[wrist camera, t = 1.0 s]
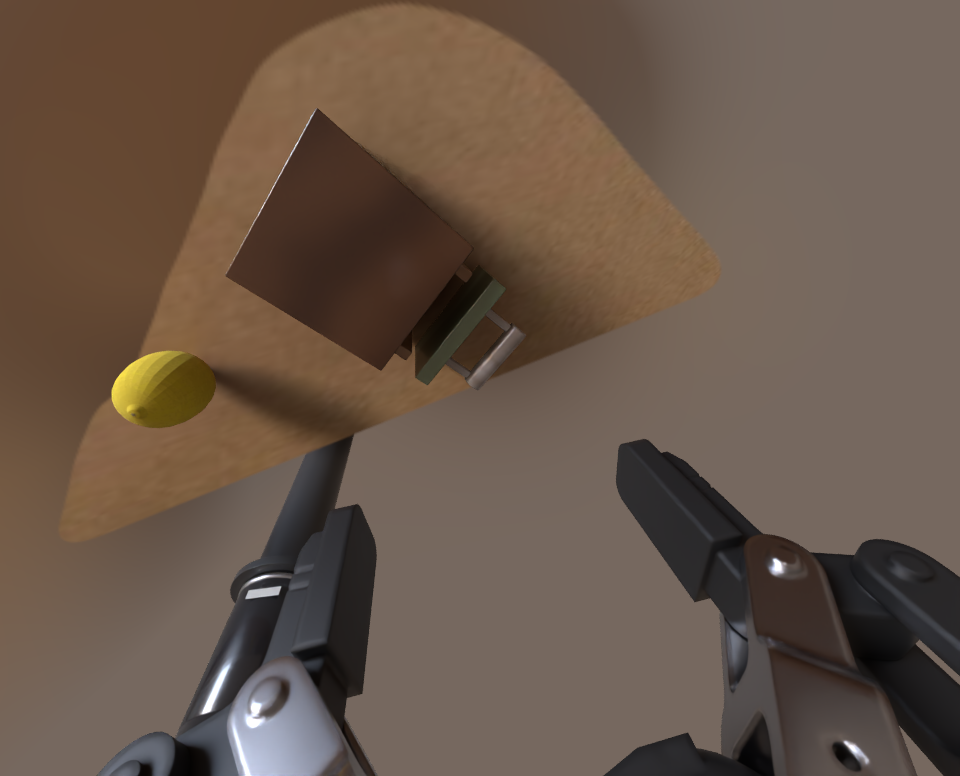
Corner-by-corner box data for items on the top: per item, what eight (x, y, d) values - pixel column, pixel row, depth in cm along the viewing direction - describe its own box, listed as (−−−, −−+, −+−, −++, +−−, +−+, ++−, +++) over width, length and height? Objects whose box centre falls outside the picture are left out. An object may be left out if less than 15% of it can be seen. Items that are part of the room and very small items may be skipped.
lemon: (143, 355, 30) (60, 401, 23) (198, 327, 29) (131, 365, 22) (195, 403, 32) (135, 458, 25) (246, 378, 32) (199, 426, 25)
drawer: (522, 302, 32) (546, 324, 26) (459, 376, 35) (468, 411, 29) (396, 192, 26) (391, 188, 20) (332, 290, 29) (311, 312, 23)
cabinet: (459, 237, 29) (474, 248, 22) (388, 332, 32) (380, 371, 25) (345, 136, 25) (315, 106, 18) (275, 256, 28) (224, 275, 20)
